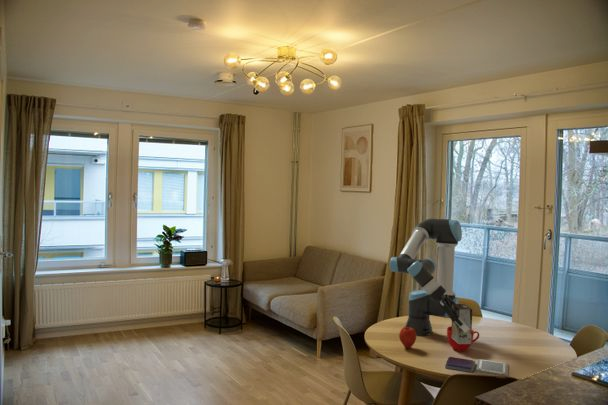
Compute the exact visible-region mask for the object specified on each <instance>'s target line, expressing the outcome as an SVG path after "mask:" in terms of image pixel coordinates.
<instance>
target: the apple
mask: <svg viewBox="0 0 608 405" xmlns="http://www.w3.org/2000/svg"><path fill="white" fill-rule="evenodd" d="M398 334H399V335H398V338H399V341H400V342H401V344H402V345H403V347H404V348H406V349H411V348H412V347H413V345H414V344H415V342H416V340H417V335H416V332H415V330H414V329H413V328H410V327H405V326H404V327H402V328H401V329H400V331H399V333H398Z"/></svg>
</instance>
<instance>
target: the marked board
mask: <svg viewBox="0 0 608 405" xmlns="http://www.w3.org/2000/svg"><path fill="white" fill-rule="evenodd" d="M508 366H509V363H506V362H499V361H493V360H489V359H488V360H487V359H482V358H481V359H480V358H477V364H476V369H475V372H479V373H484V374H490V375H497V376H503V377H508V370H509V367H508Z"/></svg>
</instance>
